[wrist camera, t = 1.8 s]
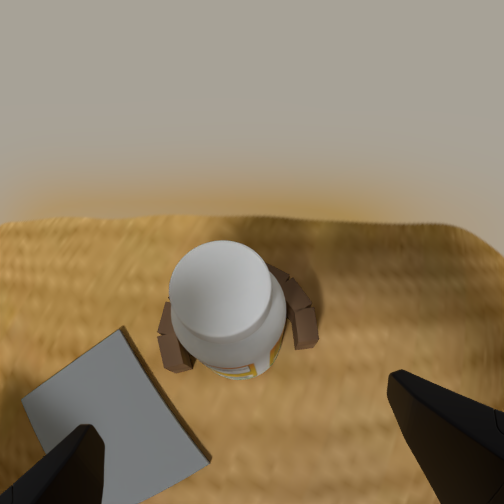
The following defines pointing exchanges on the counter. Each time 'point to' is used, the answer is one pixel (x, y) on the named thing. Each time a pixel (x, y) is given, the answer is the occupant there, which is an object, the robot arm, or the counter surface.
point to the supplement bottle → (228, 309)
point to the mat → (116, 421)
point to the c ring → (296, 312)
